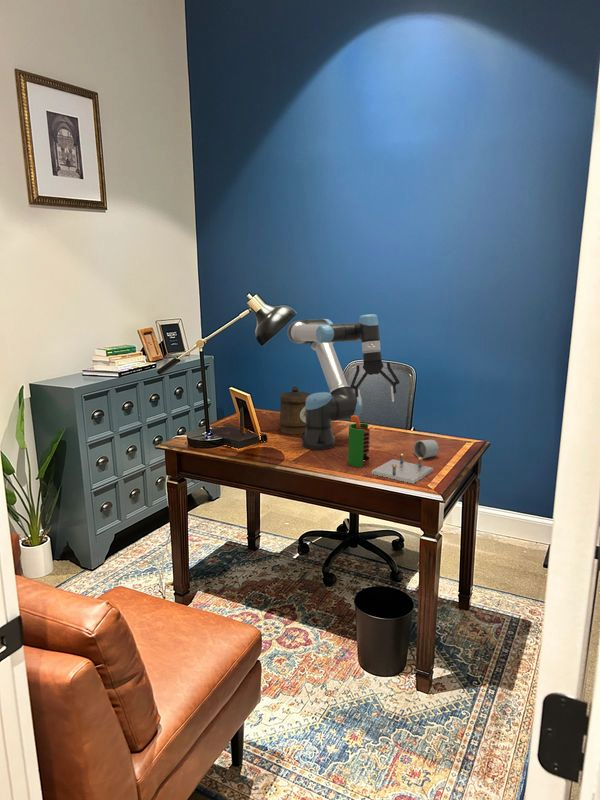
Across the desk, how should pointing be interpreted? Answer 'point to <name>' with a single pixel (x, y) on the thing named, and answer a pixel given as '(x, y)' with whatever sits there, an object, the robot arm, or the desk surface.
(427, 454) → the ceramic mug
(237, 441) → the diary
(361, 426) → the motor
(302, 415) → the wooden container
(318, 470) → the desk surface
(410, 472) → the mounting plate
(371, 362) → the robot arm
